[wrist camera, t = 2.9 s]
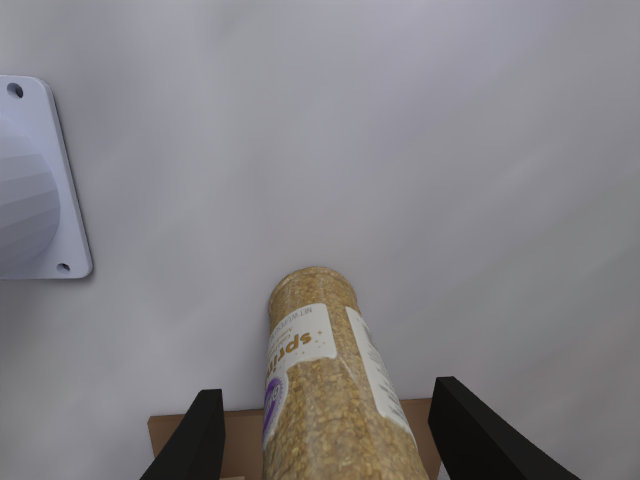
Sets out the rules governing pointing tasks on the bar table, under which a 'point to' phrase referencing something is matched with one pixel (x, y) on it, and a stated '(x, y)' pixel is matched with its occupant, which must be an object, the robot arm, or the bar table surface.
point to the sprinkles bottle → (329, 390)
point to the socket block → (247, 430)
